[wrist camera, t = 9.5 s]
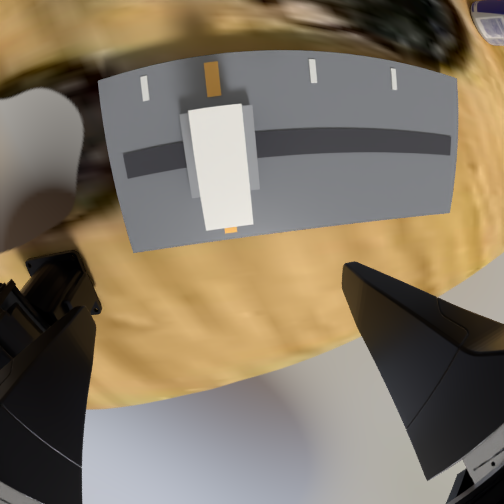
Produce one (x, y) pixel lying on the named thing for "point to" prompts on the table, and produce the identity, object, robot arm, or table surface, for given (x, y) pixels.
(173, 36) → the table surface
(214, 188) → the fader tab
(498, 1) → the energy drink
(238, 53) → the fader console
